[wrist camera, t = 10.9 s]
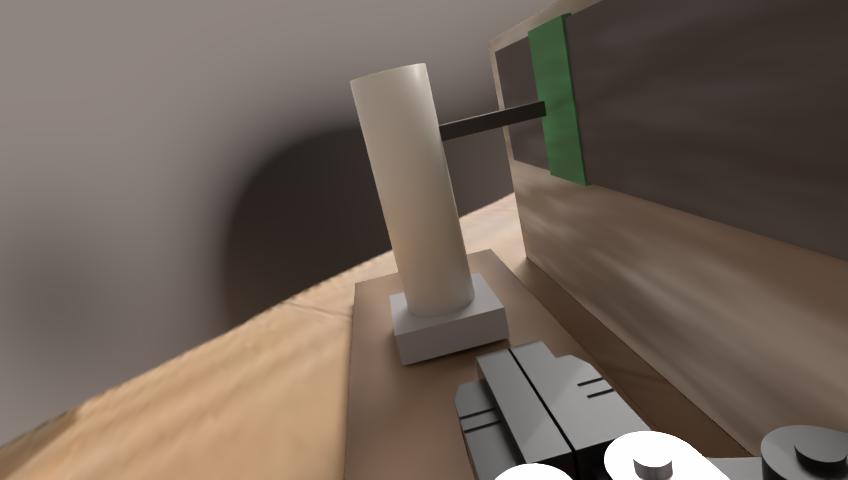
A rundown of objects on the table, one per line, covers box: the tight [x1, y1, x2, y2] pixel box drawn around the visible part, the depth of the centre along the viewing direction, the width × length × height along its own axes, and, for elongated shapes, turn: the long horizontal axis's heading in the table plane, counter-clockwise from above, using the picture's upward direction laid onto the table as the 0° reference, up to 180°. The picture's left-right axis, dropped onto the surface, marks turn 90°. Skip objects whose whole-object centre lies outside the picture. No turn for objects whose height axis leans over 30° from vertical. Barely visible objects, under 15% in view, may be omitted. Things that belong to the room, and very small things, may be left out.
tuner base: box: [344, 0, 848, 480], centre depth 24 cm, size 17×34×18 cm, turn 7°
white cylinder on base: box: [350, 63, 547, 366], centre depth 28 cm, size 11×6×15 cm, turn 97°
